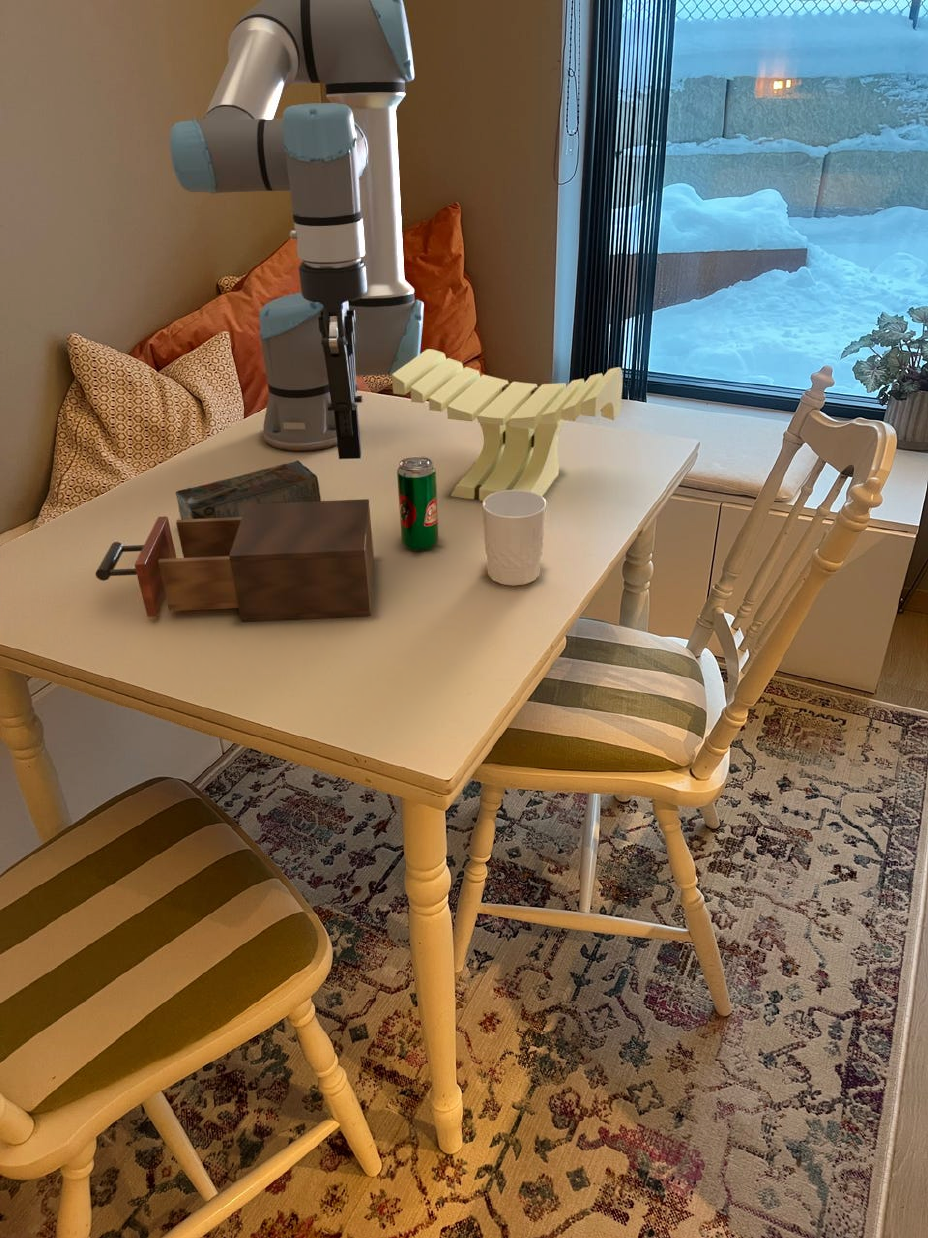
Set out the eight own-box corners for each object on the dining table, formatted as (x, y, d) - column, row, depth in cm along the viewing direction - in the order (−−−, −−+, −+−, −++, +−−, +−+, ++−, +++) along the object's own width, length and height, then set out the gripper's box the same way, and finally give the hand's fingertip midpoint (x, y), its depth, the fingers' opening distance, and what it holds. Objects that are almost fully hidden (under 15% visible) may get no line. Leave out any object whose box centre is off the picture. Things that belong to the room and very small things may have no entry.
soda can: (434, 554, 125) (430, 471, 119) (397, 551, 126) (392, 469, 120) (442, 536, 129) (439, 456, 123) (407, 534, 130) (402, 453, 124)
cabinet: (240, 622, 112) (228, 555, 107) (256, 566, 124) (246, 504, 119) (370, 616, 113) (364, 549, 108) (374, 561, 124) (368, 498, 119)
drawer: (98, 619, 112) (83, 566, 108) (124, 568, 122) (112, 518, 118) (268, 611, 112) (259, 558, 108) (280, 561, 123) (272, 511, 119)
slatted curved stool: (616, 473, 146) (624, 360, 136) (589, 516, 134) (596, 396, 124) (439, 449, 156) (435, 343, 146) (399, 488, 143) (391, 374, 134)
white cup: (474, 565, 123) (472, 496, 117) (528, 553, 125) (529, 484, 120) (498, 593, 116) (497, 522, 111) (554, 580, 119) (557, 509, 113)
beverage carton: (180, 527, 134) (171, 485, 130) (305, 496, 142) (300, 455, 138) (197, 549, 128) (188, 506, 124) (326, 515, 136) (321, 473, 132)
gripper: (305, 249, 110) (325, 437, 123) (290, 275, 99) (314, 478, 112) (368, 247, 110) (382, 435, 123) (360, 272, 99) (377, 476, 112)
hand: (350, 456), depth 118 cm, fingers closed
